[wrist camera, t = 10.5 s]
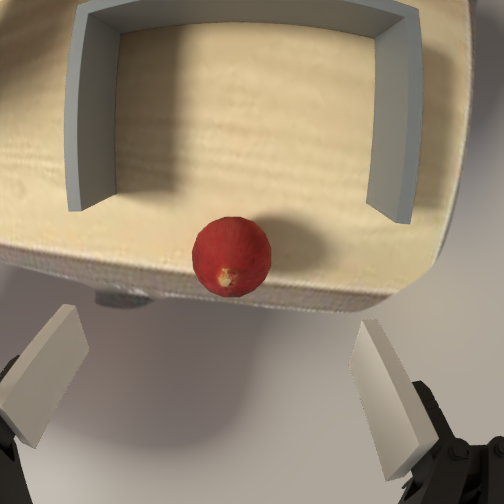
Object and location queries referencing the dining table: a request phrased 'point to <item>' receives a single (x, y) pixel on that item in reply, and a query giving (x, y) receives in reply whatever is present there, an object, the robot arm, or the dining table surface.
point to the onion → (231, 256)
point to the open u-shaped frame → (246, 10)
